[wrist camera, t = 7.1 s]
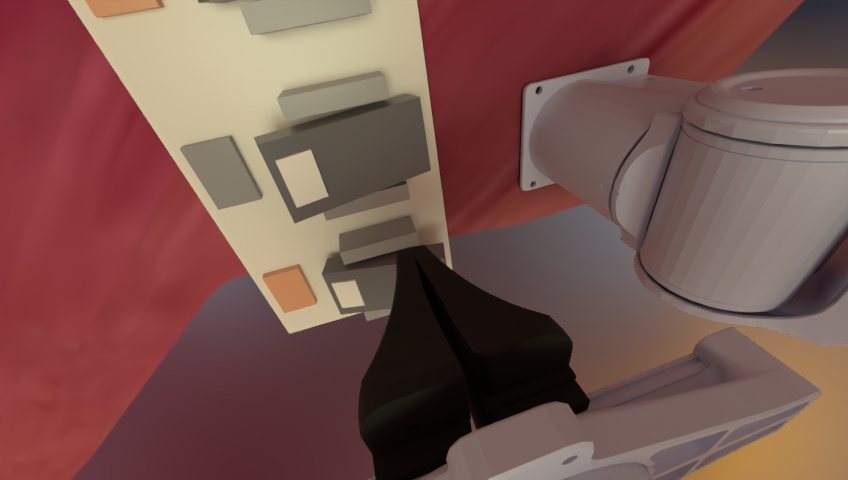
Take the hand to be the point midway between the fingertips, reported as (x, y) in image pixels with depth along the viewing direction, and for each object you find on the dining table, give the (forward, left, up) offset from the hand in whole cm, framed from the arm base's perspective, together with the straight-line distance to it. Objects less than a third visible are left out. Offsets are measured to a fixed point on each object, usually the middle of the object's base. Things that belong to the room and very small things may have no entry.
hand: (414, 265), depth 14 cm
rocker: (+1, +6, -6) cm, 8 cm away
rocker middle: (+1, -3, -6) cm, 7 cm away
